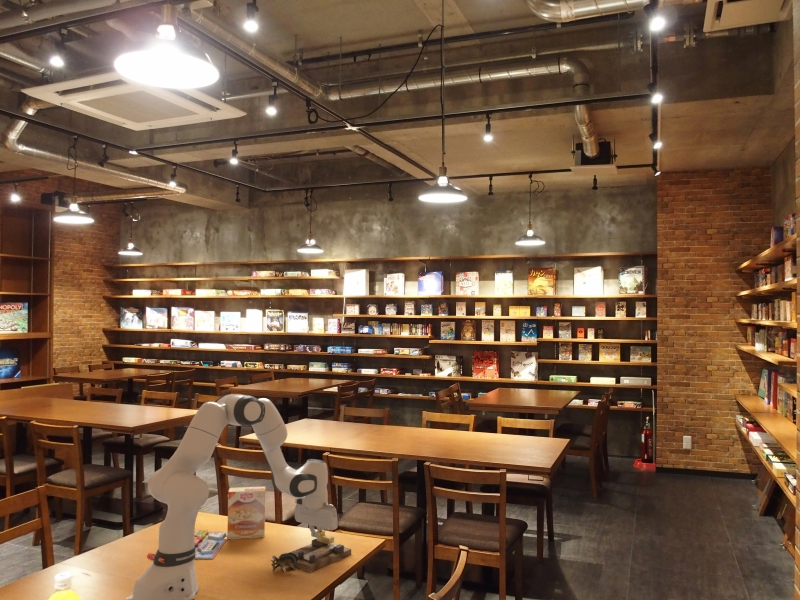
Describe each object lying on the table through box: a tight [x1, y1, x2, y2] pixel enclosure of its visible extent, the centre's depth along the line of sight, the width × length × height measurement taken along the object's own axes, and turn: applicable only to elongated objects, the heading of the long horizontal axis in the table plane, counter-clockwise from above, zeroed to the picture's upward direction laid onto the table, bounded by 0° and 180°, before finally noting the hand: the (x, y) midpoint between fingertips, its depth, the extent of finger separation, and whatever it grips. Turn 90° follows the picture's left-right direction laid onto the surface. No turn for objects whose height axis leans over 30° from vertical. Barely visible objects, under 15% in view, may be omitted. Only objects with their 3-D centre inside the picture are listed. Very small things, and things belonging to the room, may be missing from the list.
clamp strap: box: [302, 543, 337, 561], centre depth 234 cm, size 16×4×1 cm, turn 143°
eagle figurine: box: [270, 552, 299, 574], centre depth 225 cm, size 8×7×9 cm
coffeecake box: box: [226, 486, 266, 540], centre depth 261 cm, size 15×7×20 cm, turn 101°
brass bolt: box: [316, 529, 335, 544], centre depth 241 cm, size 3×6×3 cm, turn 53°
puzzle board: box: [154, 529, 227, 560], centre depth 249 cm, size 30×23×3 cm
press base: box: [288, 538, 352, 573], centre depth 237 cm, size 22×16×4 cm
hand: (315, 537), depth 245 cm, fingers closed
